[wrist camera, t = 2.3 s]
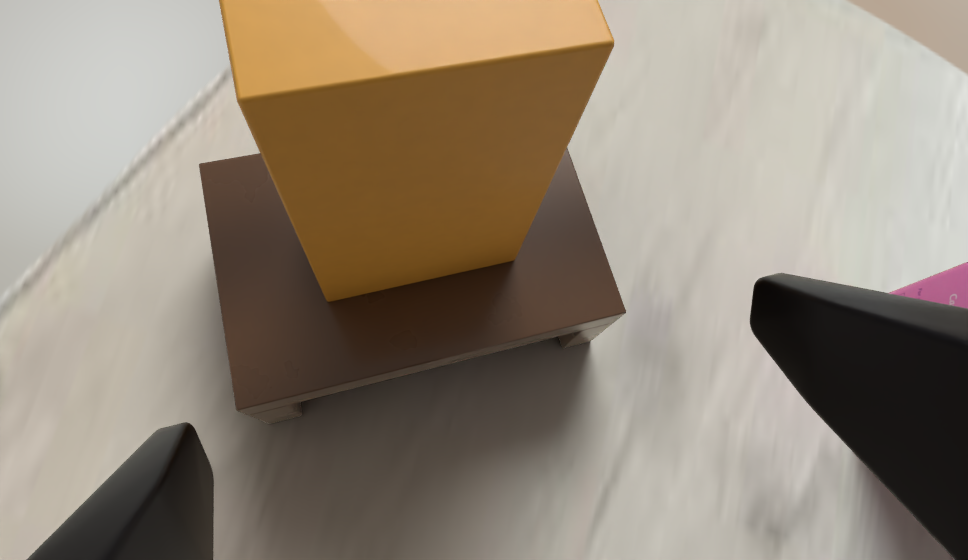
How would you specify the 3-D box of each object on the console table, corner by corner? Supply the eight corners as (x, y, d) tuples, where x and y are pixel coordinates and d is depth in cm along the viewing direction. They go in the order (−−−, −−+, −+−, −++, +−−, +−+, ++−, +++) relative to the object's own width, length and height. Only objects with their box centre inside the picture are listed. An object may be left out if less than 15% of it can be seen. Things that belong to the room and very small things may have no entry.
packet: (515, 260, 19) (617, 42, 10) (326, 303, 18) (236, 101, 9) (490, 179, 20) (561, -93, 11) (308, 214, 19) (208, -57, 9)
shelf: (591, 341, 23) (626, 312, 19) (267, 425, 20) (235, 411, 17) (530, 160, 25) (551, 102, 21) (233, 216, 23) (198, 163, 19)
